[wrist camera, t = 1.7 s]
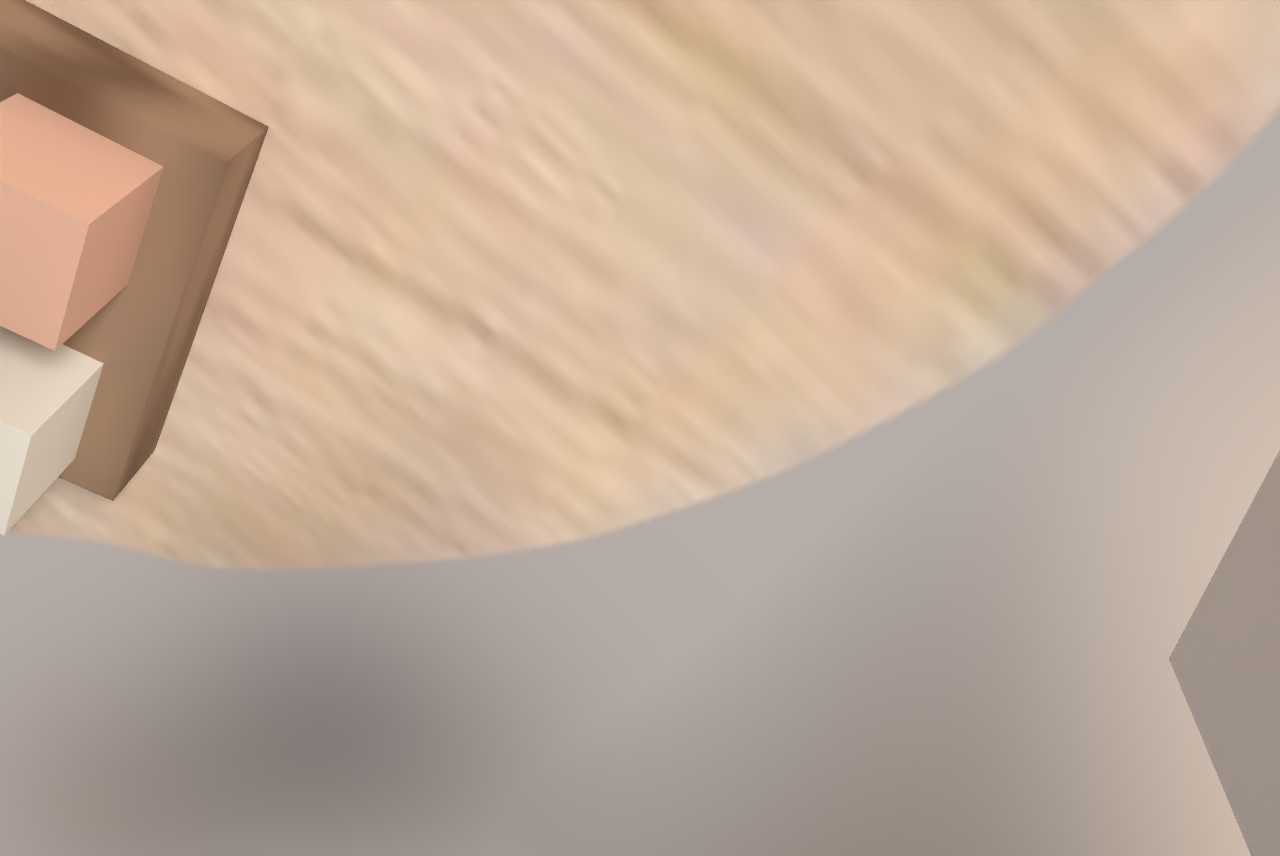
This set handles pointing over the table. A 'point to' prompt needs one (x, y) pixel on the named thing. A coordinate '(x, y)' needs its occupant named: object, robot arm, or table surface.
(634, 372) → the table surface
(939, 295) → the table surface
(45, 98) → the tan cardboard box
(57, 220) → the terracotta block
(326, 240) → the table surface
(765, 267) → the table surface
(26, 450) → the ivory block
